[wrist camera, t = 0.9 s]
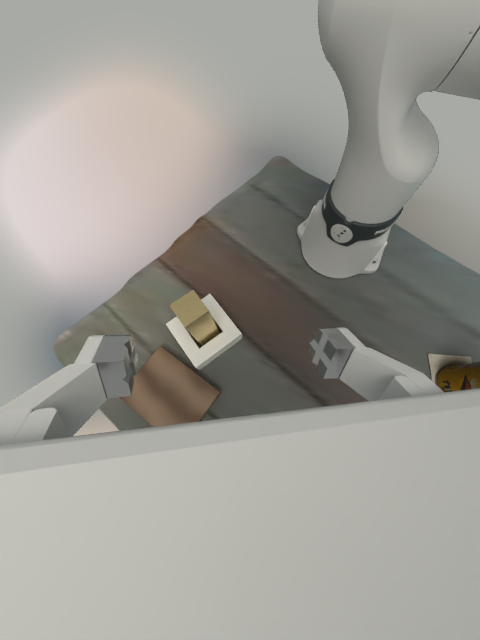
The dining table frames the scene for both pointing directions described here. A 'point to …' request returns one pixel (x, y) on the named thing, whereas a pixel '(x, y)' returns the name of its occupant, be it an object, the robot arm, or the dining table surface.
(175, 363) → the board
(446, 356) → the condiment
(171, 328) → the socket block
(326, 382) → the dining table surface
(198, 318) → the peg
